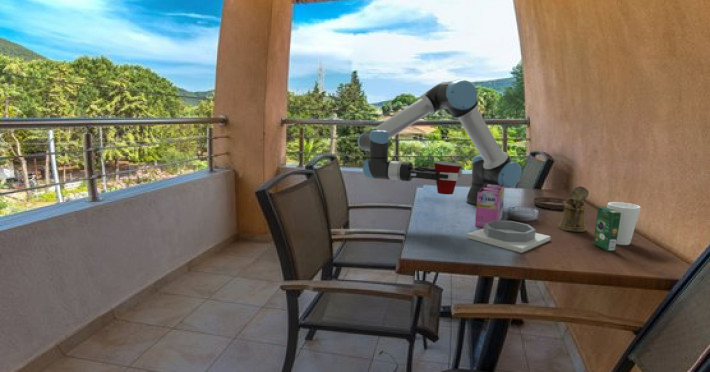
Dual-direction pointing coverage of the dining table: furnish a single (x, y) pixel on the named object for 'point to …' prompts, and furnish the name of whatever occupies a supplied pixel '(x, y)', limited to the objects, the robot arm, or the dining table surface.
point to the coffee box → (606, 228)
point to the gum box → (489, 204)
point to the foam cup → (625, 220)
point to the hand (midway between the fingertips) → (459, 175)
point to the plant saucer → (540, 201)
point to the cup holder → (509, 235)
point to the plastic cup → (446, 167)
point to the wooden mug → (574, 211)
